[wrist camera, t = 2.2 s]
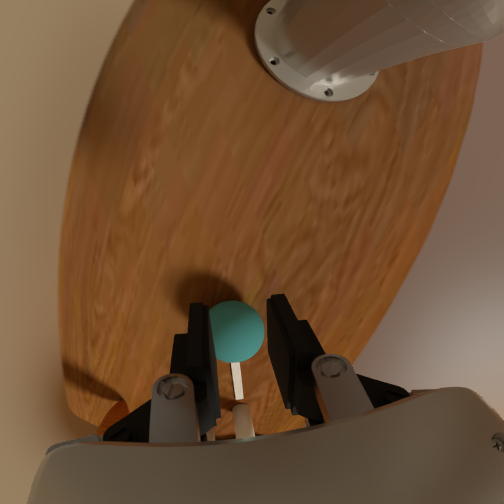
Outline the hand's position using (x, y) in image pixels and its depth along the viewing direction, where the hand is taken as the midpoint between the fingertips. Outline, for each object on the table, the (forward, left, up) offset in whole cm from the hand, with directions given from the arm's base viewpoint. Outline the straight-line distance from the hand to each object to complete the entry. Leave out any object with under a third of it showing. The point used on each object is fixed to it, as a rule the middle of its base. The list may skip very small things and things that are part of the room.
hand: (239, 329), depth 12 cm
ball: (+9, 0, -12) cm, 15 cm away
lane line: (+18, 0, -15) cm, 24 cm away
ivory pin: (+25, 0, -15) cm, 29 cm away
